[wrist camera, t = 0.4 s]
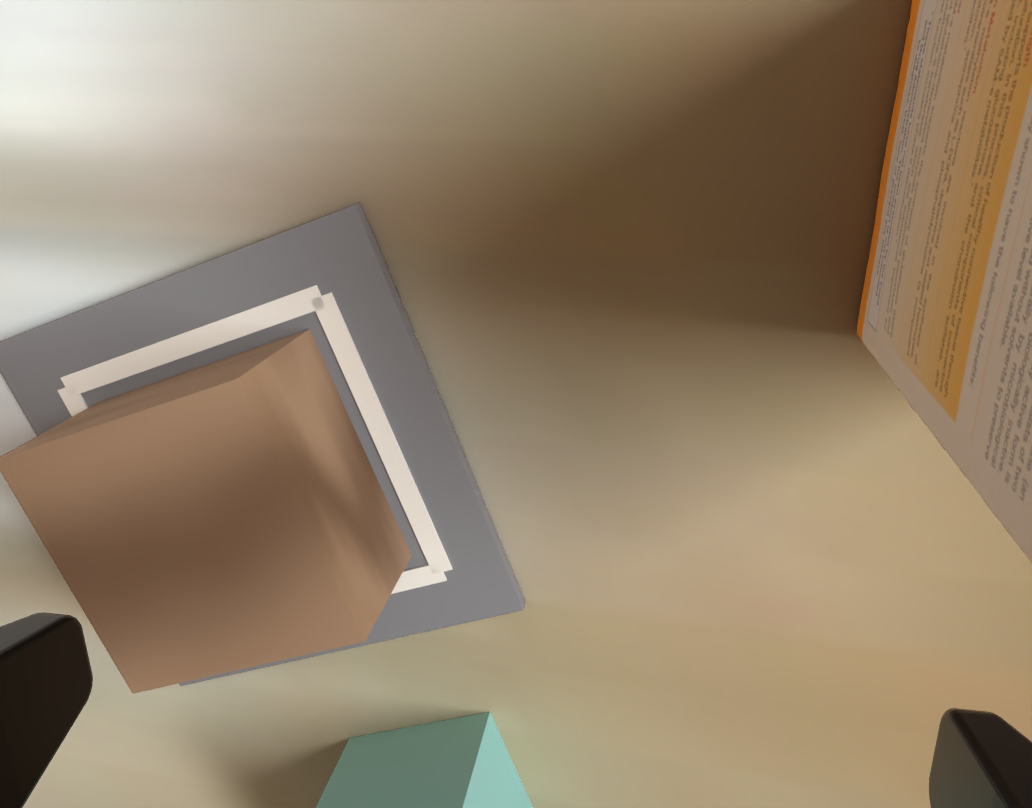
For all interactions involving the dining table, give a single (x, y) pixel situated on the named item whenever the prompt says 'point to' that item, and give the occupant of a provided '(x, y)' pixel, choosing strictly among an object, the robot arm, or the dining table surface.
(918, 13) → the supplement box
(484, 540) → the mat
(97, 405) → the walnut block
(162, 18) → the dining table surface
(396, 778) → the teal cube
